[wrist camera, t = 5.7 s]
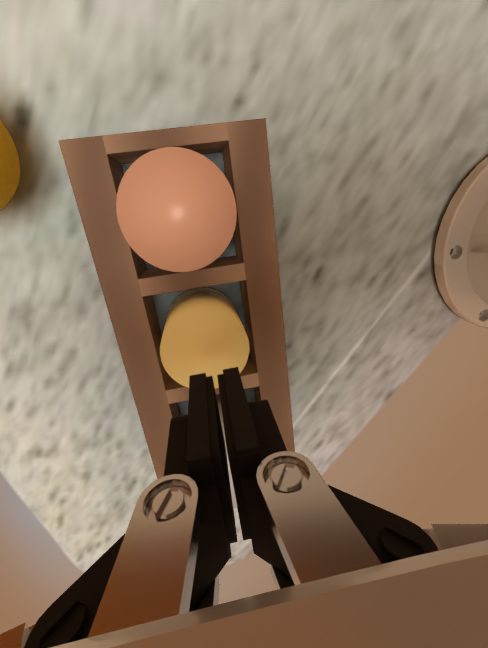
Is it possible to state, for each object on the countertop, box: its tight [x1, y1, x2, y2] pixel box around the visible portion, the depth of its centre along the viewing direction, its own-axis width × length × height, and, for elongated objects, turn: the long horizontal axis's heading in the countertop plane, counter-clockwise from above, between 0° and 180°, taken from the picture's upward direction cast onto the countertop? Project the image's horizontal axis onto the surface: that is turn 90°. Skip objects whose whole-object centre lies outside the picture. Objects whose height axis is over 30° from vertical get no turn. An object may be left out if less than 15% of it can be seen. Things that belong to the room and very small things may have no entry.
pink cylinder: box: [116, 147, 237, 272], centre depth 14 cm, size 4×4×4 cm
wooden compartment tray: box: [58, 118, 295, 479], centre depth 19 cm, size 9×20×3 cm, turn 7°
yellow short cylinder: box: [160, 288, 249, 389], centre depth 18 cm, size 4×4×4 cm
